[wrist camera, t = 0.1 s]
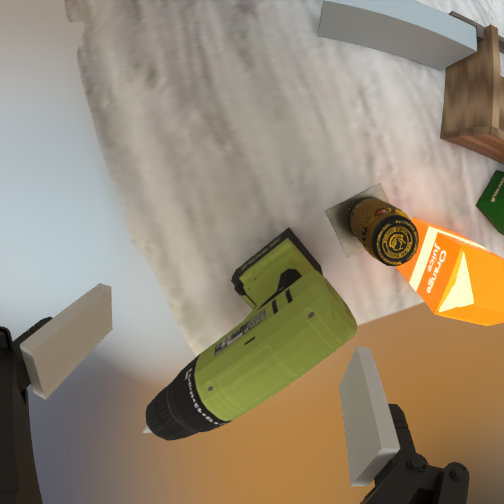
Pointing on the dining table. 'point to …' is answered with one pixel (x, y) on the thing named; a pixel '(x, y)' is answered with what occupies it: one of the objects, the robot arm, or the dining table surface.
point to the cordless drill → (257, 343)
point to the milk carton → (494, 201)
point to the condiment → (374, 228)
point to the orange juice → (456, 276)
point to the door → (399, 30)
